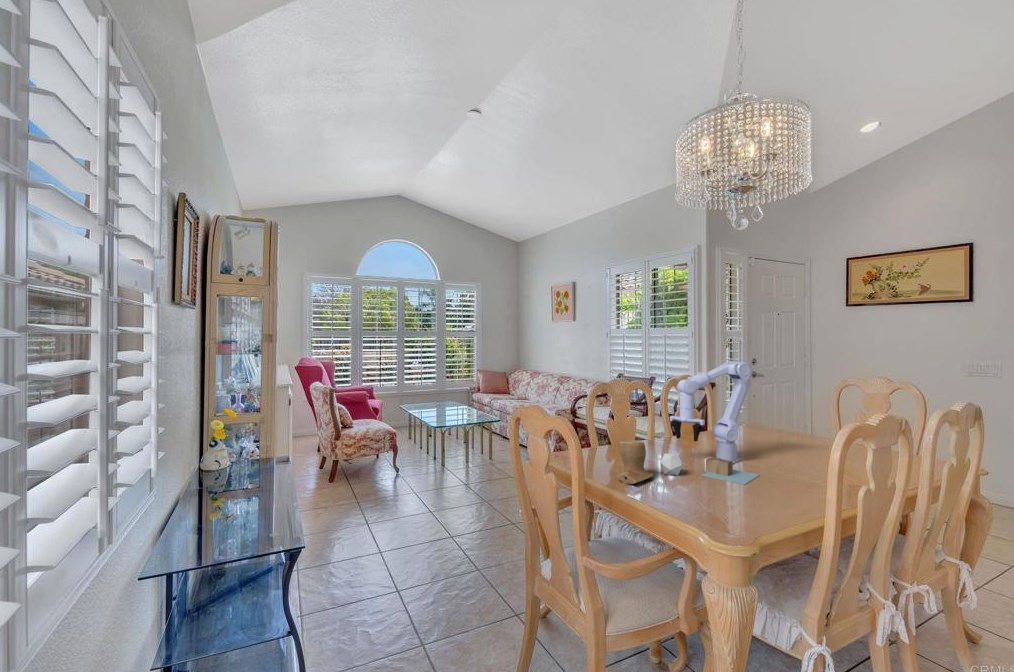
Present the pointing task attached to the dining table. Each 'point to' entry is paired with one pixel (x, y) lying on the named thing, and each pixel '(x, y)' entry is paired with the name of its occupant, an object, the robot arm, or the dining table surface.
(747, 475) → the mat
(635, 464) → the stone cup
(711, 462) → the walnut block
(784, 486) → the dining table surface
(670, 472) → the die
